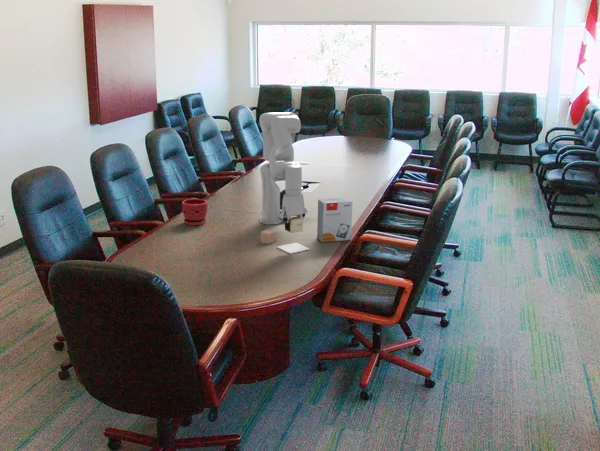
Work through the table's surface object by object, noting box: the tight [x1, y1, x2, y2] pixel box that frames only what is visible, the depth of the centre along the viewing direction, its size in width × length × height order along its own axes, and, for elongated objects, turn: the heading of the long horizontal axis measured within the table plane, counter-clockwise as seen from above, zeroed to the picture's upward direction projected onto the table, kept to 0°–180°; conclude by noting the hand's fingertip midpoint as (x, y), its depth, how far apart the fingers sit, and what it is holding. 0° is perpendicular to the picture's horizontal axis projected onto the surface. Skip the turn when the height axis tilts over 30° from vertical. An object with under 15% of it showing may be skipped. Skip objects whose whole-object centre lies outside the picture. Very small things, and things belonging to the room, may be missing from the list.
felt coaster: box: [276, 242, 311, 255], centre depth 309 cm, size 11×11×1 cm
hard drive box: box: [316, 197, 353, 243], centre depth 321 cm, size 16×8×20 cm, turn 105°
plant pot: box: [181, 198, 208, 226], centre depth 346 cm, size 13×13×12 cm
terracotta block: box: [260, 229, 276, 245], centre depth 319 cm, size 5×5×5 cm
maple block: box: [285, 216, 304, 234], centre depth 306 cm, size 6×6×6 cm
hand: (293, 228), depth 306 cm, fingers closed on maple block, 6 cm apart
